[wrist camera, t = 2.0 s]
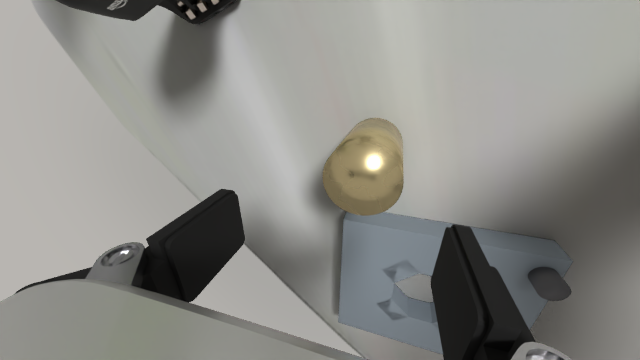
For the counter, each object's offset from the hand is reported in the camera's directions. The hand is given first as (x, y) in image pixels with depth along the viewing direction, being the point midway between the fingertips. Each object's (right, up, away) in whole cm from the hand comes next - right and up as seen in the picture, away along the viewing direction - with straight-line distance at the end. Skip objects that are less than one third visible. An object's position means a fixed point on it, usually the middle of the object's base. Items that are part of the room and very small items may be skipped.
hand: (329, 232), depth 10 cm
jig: (+11, -9, +15) cm, 21 cm away
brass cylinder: (+5, +6, +11) cm, 13 cm away
